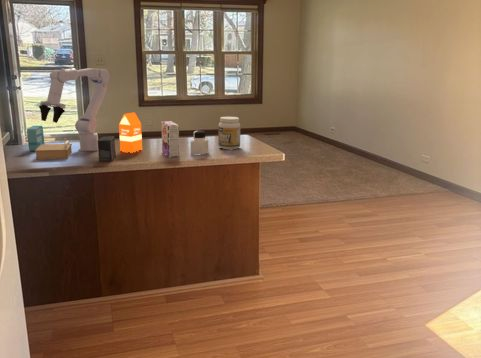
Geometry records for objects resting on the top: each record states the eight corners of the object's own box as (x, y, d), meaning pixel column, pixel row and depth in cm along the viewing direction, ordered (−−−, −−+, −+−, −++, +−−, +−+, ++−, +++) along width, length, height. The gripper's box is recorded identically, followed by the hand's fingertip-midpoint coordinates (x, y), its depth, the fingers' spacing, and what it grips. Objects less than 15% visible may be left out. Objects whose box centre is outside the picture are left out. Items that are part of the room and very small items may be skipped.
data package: (38, 151, 234) (35, 128, 231) (28, 151, 234) (26, 128, 230) (44, 147, 246) (42, 125, 242) (36, 147, 245) (33, 125, 242)
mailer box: (71, 152, 233) (71, 145, 232) (67, 158, 220) (66, 150, 219) (42, 153, 230) (42, 145, 229) (36, 159, 217) (35, 151, 216)
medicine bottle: (208, 152, 238) (208, 130, 235) (203, 155, 231) (202, 132, 228) (196, 151, 240) (195, 129, 237) (190, 154, 234) (190, 131, 230)
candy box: (161, 152, 238) (160, 121, 233) (172, 151, 240) (171, 120, 235) (168, 157, 226) (167, 125, 221) (179, 157, 228) (179, 124, 223)
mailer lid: (71, 144, 232) (71, 139, 231) (67, 150, 219) (66, 144, 218) (41, 145, 229) (40, 139, 229) (35, 151, 216) (34, 145, 215)
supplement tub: (214, 149, 247) (214, 118, 243) (223, 145, 258) (223, 115, 254) (235, 151, 243) (235, 119, 238) (243, 147, 254) (244, 117, 249)
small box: (102, 156, 226) (101, 136, 223) (116, 156, 226) (114, 136, 223) (98, 161, 215) (96, 140, 213) (112, 161, 216) (110, 140, 213)
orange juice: (142, 150, 242) (140, 112, 237) (132, 153, 235) (130, 114, 229) (130, 148, 245) (128, 111, 240) (120, 151, 238) (117, 113, 232)
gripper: (37, 90, 218) (31, 117, 217) (59, 93, 212) (53, 121, 211) (49, 94, 224) (43, 121, 224) (70, 97, 218) (64, 124, 218)
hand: (49, 121), depth 218 cm, fingers open, 7 cm apart
